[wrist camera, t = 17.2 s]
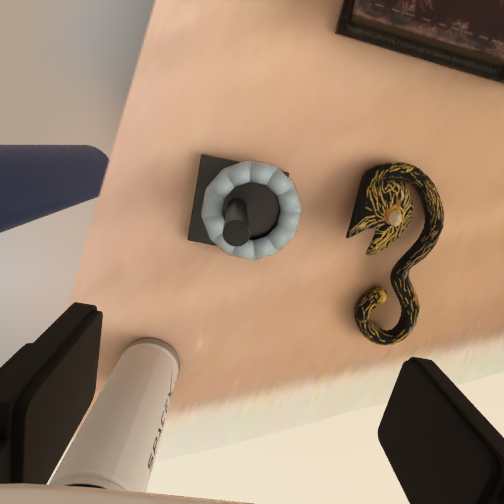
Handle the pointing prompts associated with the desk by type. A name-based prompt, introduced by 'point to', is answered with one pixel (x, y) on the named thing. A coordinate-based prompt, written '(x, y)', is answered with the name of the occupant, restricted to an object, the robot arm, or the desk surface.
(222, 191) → the ring
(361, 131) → the desk surface
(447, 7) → the diary
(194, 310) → the desk surface
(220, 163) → the stand
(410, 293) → the toy snake
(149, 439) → the travel mug
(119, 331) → the desk surface
